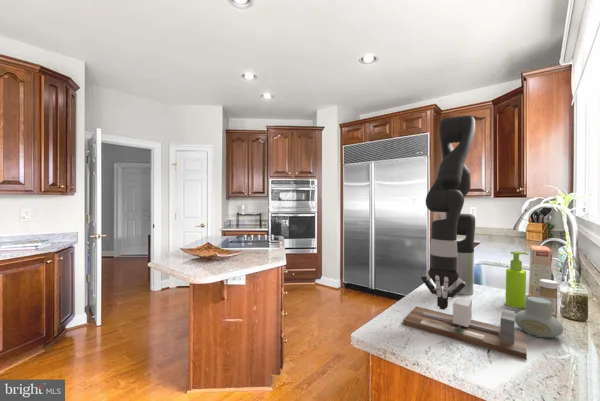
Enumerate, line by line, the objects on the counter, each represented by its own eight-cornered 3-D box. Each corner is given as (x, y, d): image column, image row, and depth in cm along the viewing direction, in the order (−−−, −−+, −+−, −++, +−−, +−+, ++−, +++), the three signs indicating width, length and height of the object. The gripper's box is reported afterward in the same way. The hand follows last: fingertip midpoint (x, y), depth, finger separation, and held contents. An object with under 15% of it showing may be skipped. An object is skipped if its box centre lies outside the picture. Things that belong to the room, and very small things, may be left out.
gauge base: (415, 310, 99) (416, 289, 98) (525, 337, 80) (525, 311, 80) (403, 324, 87) (403, 300, 87) (526, 359, 69) (527, 329, 69)
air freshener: (564, 335, 82) (565, 301, 82) (560, 345, 76) (561, 309, 76) (518, 322, 90) (518, 291, 90) (511, 330, 84) (512, 297, 84)
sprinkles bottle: (559, 323, 90) (560, 281, 90) (554, 326, 88) (555, 283, 87) (541, 317, 94) (542, 277, 94) (536, 321, 91) (537, 280, 91)
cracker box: (551, 307, 103) (552, 251, 103) (530, 303, 107) (531, 249, 106) (547, 297, 114) (548, 246, 114) (528, 294, 118) (529, 244, 118)
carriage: (456, 316, 89) (457, 296, 89) (471, 320, 86) (471, 299, 86) (450, 329, 80) (450, 307, 80) (466, 333, 77) (466, 310, 77)
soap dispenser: (532, 308, 102) (533, 253, 102) (513, 307, 102) (514, 253, 102) (519, 302, 108) (521, 250, 108) (501, 301, 108) (502, 250, 108)
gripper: (469, 254, 87) (468, 310, 87) (424, 249, 95) (423, 300, 95) (466, 258, 81) (465, 318, 81) (418, 252, 89) (417, 307, 89)
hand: (442, 308), depth 88 cm, fingers closed
